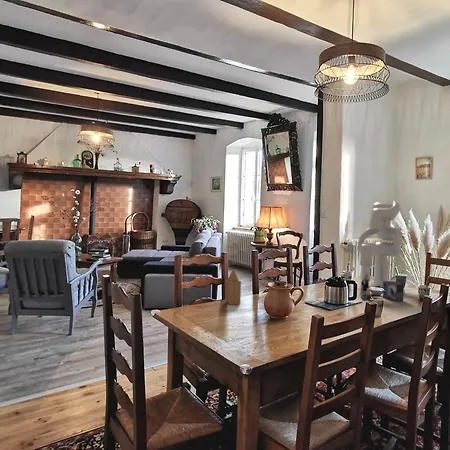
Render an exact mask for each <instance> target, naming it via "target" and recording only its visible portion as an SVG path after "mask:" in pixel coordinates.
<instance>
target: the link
mask: <svg viewBox="0 0 450 450" xmlns="http://www.w3.org/2000/svg"><path fill="white" fill-rule="evenodd" d="M369 288H371V289H372V287H371V286H370V285H369ZM358 291H359V292H358V293H359V295H360V296H367V291H363V285H361V284H359V289H358Z"/></svg>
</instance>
